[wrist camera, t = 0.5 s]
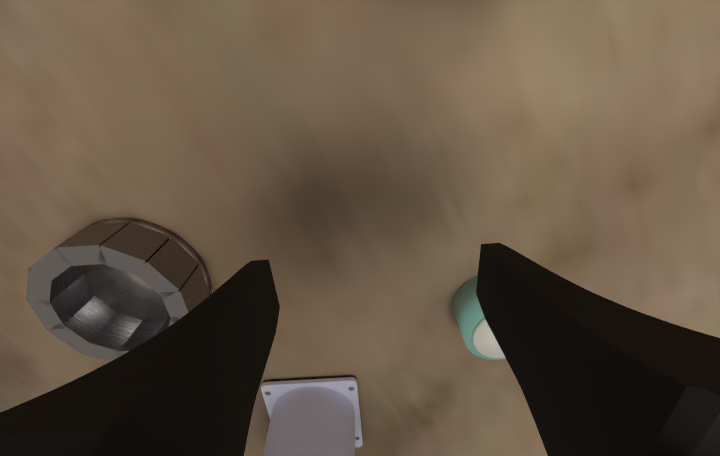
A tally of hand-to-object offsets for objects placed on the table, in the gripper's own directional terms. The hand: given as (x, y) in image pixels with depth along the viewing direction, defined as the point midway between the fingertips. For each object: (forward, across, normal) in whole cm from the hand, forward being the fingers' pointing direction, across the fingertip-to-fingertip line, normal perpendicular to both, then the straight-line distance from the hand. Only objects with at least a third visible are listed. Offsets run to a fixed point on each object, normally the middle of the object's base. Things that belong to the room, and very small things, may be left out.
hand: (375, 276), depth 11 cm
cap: (+10, -8, +10) cm, 16 cm away
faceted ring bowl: (+10, +16, +6) cm, 19 cm away
